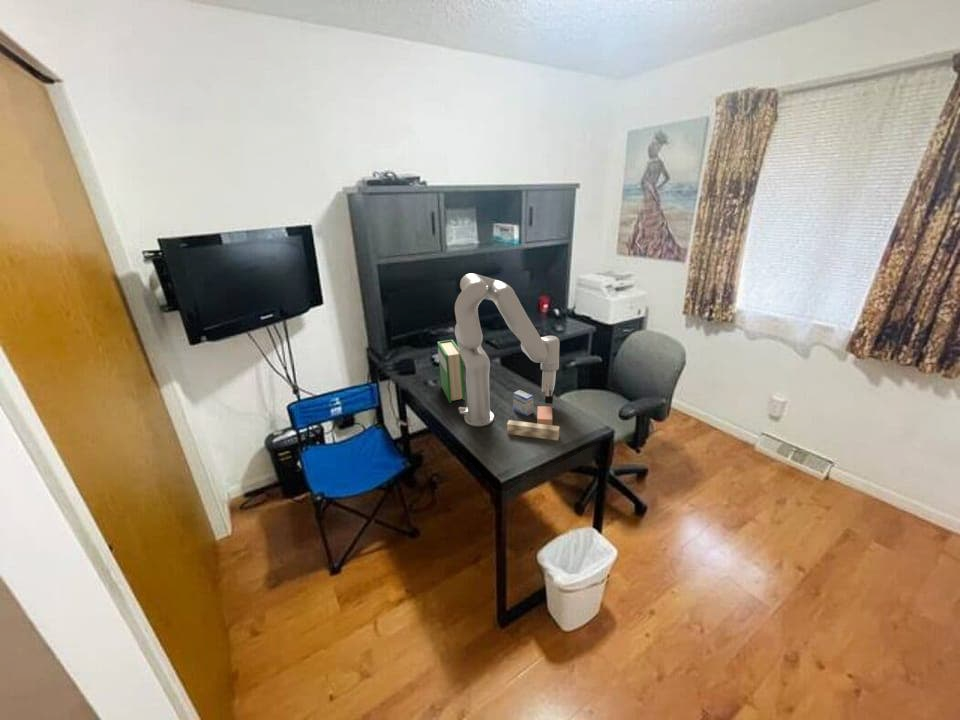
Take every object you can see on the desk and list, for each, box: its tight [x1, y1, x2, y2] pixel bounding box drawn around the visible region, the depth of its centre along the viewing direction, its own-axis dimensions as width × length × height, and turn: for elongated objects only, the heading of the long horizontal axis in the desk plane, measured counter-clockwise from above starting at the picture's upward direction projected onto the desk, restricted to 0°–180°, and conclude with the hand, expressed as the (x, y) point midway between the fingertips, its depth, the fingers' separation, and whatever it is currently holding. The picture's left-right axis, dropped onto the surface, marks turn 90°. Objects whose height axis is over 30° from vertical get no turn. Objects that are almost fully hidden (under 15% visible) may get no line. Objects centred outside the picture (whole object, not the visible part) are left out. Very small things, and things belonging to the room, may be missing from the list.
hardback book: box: [436, 339, 466, 404], centre depth 180 cm, size 18×7×24 cm, turn 18°
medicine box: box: [512, 389, 534, 417], centre depth 165 cm, size 8×4×9 cm, turn 44°
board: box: [506, 419, 561, 441], centre depth 150 cm, size 20×3×4 cm, turn 73°
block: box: [536, 405, 553, 425], centre depth 159 cm, size 6×10×4 cm, turn 171°
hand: (548, 402), depth 169 cm, fingers closed
